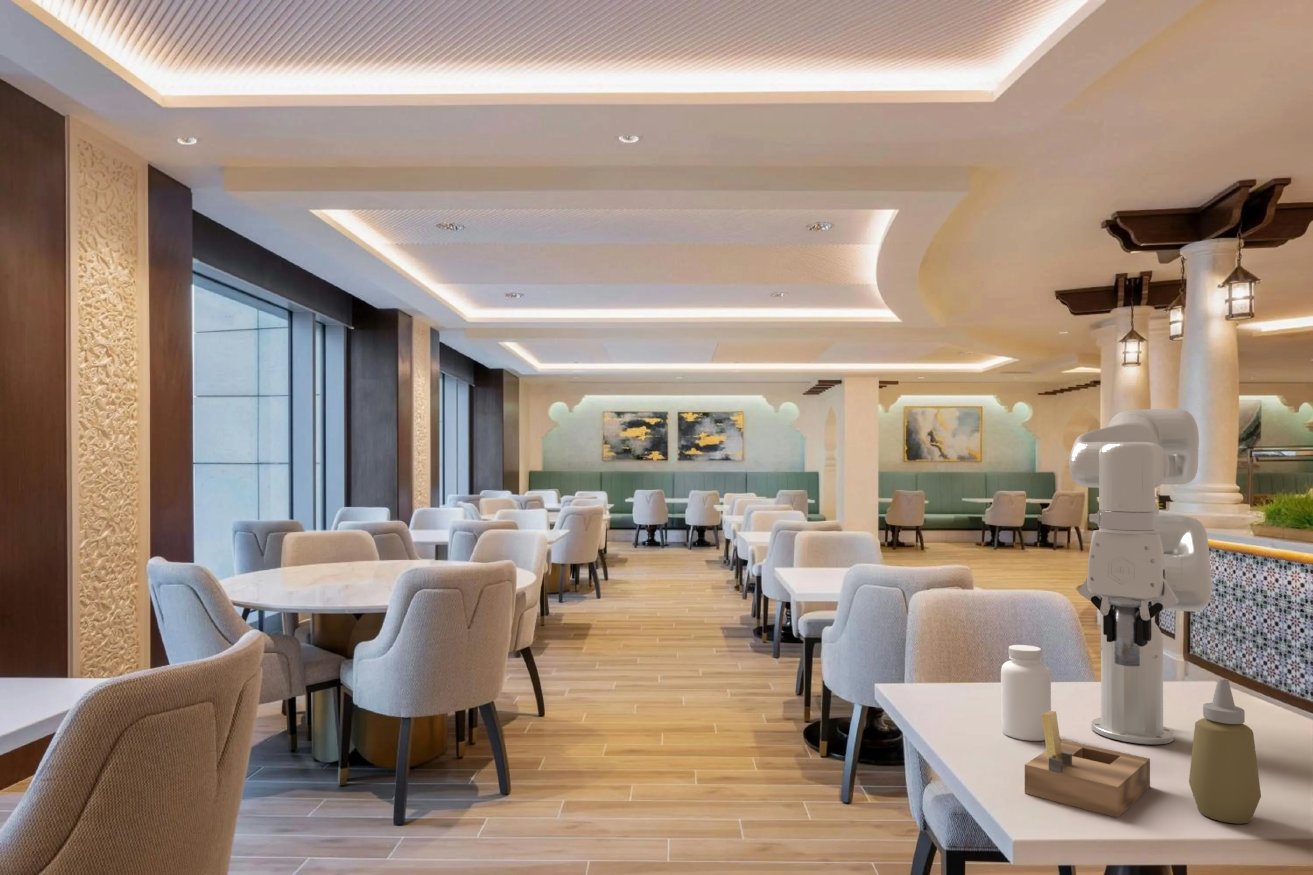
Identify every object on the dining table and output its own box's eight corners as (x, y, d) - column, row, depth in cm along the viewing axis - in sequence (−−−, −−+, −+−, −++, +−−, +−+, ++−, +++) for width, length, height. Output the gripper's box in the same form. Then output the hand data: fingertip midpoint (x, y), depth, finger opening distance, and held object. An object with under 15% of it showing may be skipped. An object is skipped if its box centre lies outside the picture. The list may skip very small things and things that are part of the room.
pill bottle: (990, 730, 151) (990, 644, 151) (1025, 725, 154) (1025, 641, 154) (1026, 744, 143) (1026, 653, 144) (1061, 739, 147) (1061, 650, 147)
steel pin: (1113, 657, 135) (1113, 590, 135) (1150, 663, 132) (1150, 594, 132) (1103, 663, 131) (1103, 594, 132) (1141, 669, 128) (1141, 598, 128)
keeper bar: (1063, 762, 122) (1054, 761, 122) (1056, 711, 122) (1047, 710, 123) (1057, 766, 120) (1048, 765, 121) (1050, 714, 121) (1041, 714, 122)
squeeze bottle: (1174, 804, 118) (1174, 672, 119) (1230, 803, 119) (1229, 672, 119) (1218, 829, 110) (1217, 687, 111) (1277, 828, 111) (1275, 687, 111)
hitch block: (1063, 765, 133) (1063, 729, 133) (1150, 786, 125) (1149, 747, 125) (1024, 792, 121) (1024, 752, 122) (1117, 817, 113) (1117, 774, 113)
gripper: (1061, 521, 135) (1061, 638, 135) (1182, 527, 124) (1183, 655, 123) (1077, 518, 140) (1077, 631, 140) (1194, 524, 129) (1195, 647, 129)
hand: (1127, 641), depth 132 cm, fingers closed on steel pin, 3 cm apart
